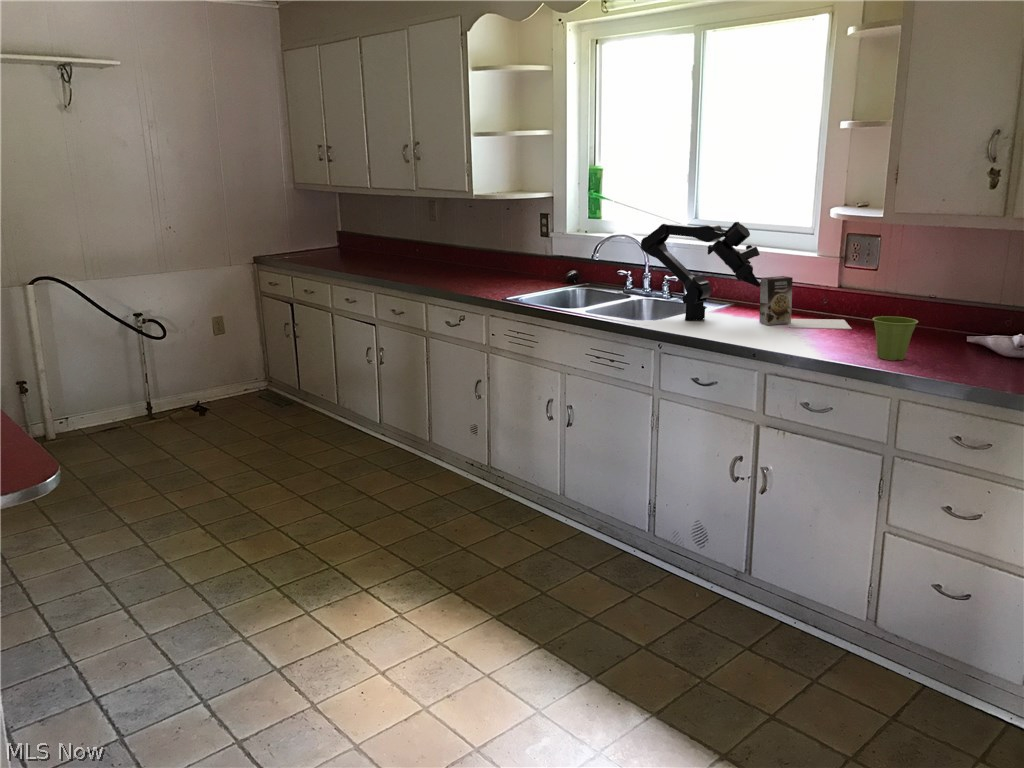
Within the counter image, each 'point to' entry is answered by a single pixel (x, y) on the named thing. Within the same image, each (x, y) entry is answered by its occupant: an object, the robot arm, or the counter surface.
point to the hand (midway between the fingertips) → (759, 286)
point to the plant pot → (893, 336)
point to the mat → (819, 324)
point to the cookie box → (775, 300)
